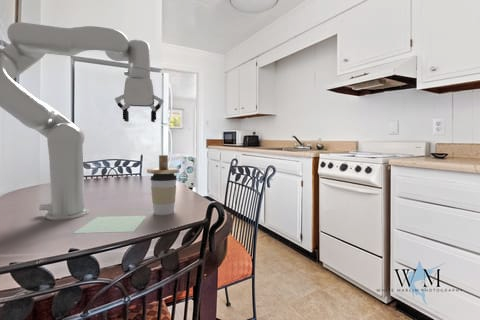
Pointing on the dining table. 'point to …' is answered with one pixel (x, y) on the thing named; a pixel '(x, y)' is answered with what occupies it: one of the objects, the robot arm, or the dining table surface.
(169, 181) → the coffee cup
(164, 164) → the lid
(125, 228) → the mat
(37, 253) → the dining table surface
